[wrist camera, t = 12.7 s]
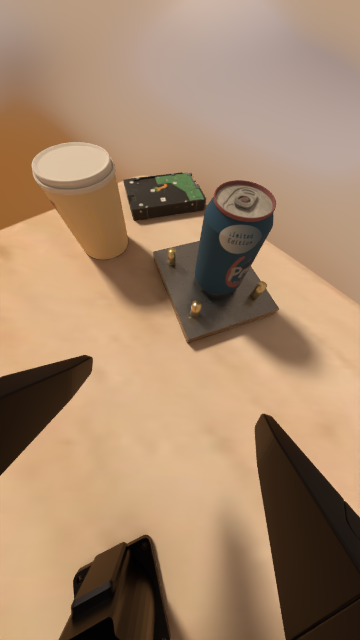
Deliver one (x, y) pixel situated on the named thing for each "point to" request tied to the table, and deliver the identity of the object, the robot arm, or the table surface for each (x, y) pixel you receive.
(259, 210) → the soda can
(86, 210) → the coffee cup
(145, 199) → the disk drive
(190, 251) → the chassis plate
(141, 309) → the table surface
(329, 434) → the table surface
